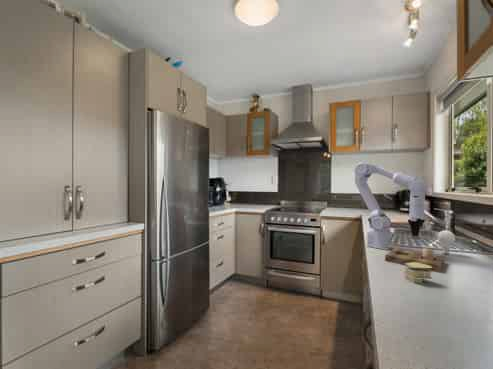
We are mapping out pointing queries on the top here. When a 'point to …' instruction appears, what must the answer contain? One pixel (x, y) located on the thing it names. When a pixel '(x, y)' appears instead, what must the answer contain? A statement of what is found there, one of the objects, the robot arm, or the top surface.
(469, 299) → the top surface
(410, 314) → the top surface
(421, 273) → the stacked layers on plate
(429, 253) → the peg
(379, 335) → the top surface
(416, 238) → the beech peg
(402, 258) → the pegboard
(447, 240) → the lightbulb
